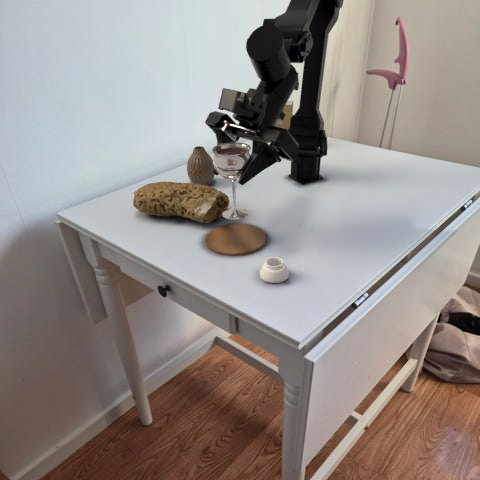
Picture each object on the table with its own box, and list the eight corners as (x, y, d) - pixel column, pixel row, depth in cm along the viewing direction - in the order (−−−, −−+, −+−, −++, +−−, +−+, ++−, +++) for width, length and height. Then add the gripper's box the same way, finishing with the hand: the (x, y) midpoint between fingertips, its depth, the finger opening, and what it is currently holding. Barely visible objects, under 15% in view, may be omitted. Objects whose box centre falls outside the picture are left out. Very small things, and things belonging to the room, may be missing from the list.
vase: (217, 178, 109) (215, 142, 103) (214, 188, 103) (211, 152, 98) (191, 178, 109) (187, 143, 104) (186, 189, 104) (181, 152, 98)
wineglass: (211, 211, 81) (205, 147, 73) (242, 202, 83) (239, 139, 76) (227, 225, 77) (222, 158, 69) (259, 215, 79) (258, 150, 71)
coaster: (247, 220, 90) (247, 218, 89) (277, 244, 81) (277, 242, 81) (195, 235, 86) (195, 233, 85) (222, 262, 77) (222, 259, 77)
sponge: (233, 216, 94) (166, 182, 100) (234, 187, 88) (161, 152, 94) (196, 250, 88) (126, 211, 94) (193, 222, 81) (119, 182, 88)
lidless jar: (273, 265, 76) (253, 277, 73) (273, 251, 74) (253, 262, 71) (294, 275, 73) (275, 288, 70) (295, 261, 71) (275, 273, 68)
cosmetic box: (268, 149, 124) (268, 104, 116) (270, 144, 127) (270, 100, 120) (290, 149, 123) (292, 103, 115) (291, 145, 126) (293, 100, 119)
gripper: (207, 59, 72) (165, 143, 74) (289, 71, 61) (237, 169, 63) (243, 100, 81) (204, 174, 83) (320, 117, 70) (273, 201, 72)
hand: (227, 178), depth 75 cm, fingers closed on wineglass, 6 cm apart
